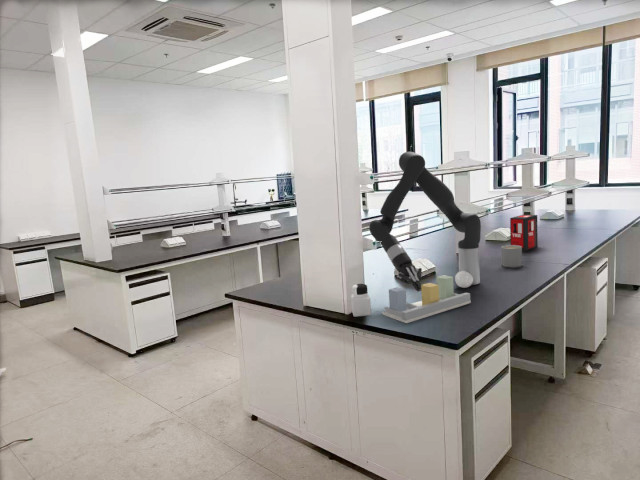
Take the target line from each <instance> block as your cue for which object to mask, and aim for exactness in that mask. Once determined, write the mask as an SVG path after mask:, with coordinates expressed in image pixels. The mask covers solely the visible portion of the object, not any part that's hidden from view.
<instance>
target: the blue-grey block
mask: <svg viewBox="0 0 640 480" xmlns="http://www.w3.org/2000/svg"><path fill="white" fill-rule="evenodd" d="M388 301H389V302H388V303H389V304H388V305H389V308H391V309H394V310H397V311H400V312H402V311H406V310H407V303H408V302H407V289H406V288H402V287H398V286H396V287H392V288H389V289H388ZM406 302H407V303H406Z"/></svg>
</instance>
